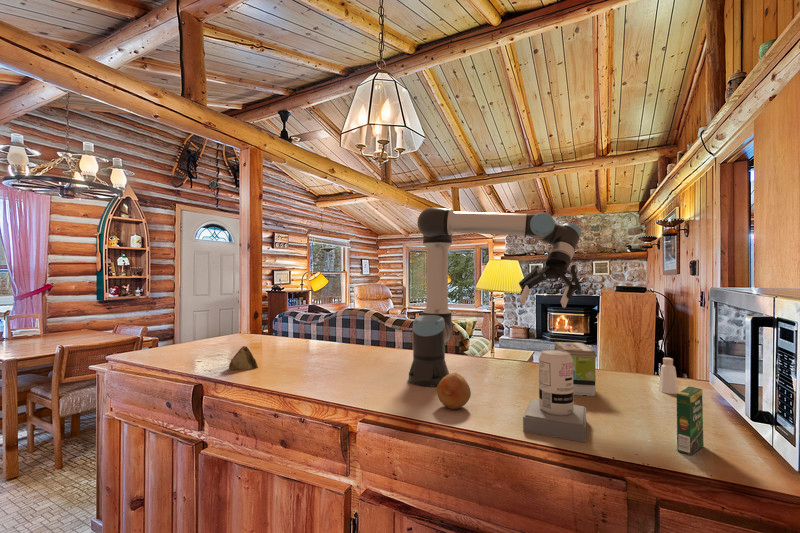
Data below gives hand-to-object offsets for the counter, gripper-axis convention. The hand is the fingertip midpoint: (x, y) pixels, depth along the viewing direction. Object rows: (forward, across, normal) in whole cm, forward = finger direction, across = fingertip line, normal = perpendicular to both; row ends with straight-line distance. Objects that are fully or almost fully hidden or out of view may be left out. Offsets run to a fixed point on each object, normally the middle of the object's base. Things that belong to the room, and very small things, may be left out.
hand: (541, 303), depth 119 cm
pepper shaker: (-3, -28, -45) cm, 53 cm away
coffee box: (+29, -39, -13) cm, 50 cm away
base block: (+35, -12, -7) cm, 38 cm away
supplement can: (+32, -13, -4) cm, 35 cm away
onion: (+41, +14, -2) cm, 43 cm away
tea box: (+10, -4, -32) cm, 34 cm away
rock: (+59, +105, +16) cm, 121 cm away
